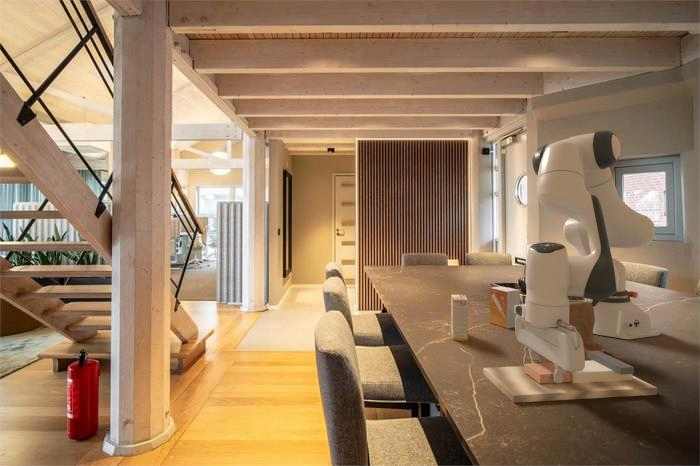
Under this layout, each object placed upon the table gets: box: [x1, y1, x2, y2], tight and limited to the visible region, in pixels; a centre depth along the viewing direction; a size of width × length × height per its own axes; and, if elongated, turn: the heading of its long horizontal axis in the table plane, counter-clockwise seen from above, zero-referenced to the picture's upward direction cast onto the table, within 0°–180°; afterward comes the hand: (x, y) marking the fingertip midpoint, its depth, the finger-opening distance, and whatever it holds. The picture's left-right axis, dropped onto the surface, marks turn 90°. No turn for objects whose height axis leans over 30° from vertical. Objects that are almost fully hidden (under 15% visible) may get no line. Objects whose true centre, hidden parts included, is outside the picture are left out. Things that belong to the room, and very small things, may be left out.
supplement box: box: [450, 294, 469, 342], centre depth 117 cm, size 8×5×13 cm, turn 168°
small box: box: [489, 285, 521, 329], centre depth 129 cm, size 8×6×13 cm
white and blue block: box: [568, 351, 635, 383], centre depth 83 cm, size 14×10×4 cm
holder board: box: [482, 365, 658, 403], centre depth 83 cm, size 32×14×2 cm, turn 95°
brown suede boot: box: [569, 299, 605, 361], centre depth 101 cm, size 15×12×15 cm
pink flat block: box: [523, 361, 570, 383], centre depth 83 cm, size 7×6×2 cm
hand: (546, 374), depth 83 cm, fingers closed on pink flat block, 6 cm apart
